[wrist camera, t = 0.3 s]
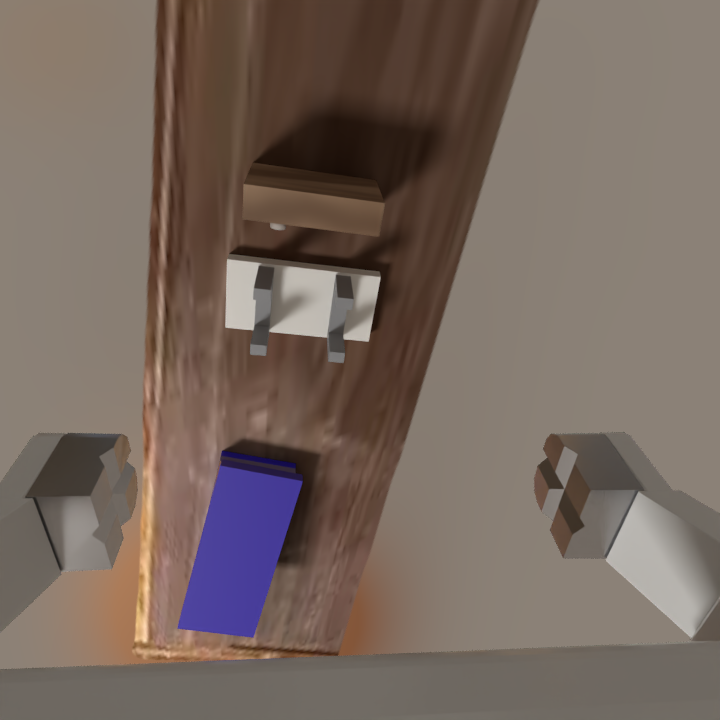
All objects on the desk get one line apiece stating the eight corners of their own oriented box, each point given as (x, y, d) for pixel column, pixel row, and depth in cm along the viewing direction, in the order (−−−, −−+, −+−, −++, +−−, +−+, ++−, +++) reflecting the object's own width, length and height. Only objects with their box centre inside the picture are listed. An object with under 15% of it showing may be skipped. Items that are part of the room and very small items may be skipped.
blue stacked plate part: (189, 576, 84) (175, 637, 75) (218, 444, 70) (205, 501, 61) (261, 584, 86) (256, 644, 78) (303, 459, 72) (302, 516, 64)
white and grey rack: (229, 253, 55) (218, 281, 50) (379, 271, 58) (386, 299, 52) (227, 321, 60) (217, 353, 54) (367, 335, 62) (373, 368, 56)
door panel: (253, 162, 51) (243, 183, 44) (375, 179, 53) (384, 203, 46) (251, 203, 53) (241, 230, 46) (369, 219, 55) (377, 247, 48)
